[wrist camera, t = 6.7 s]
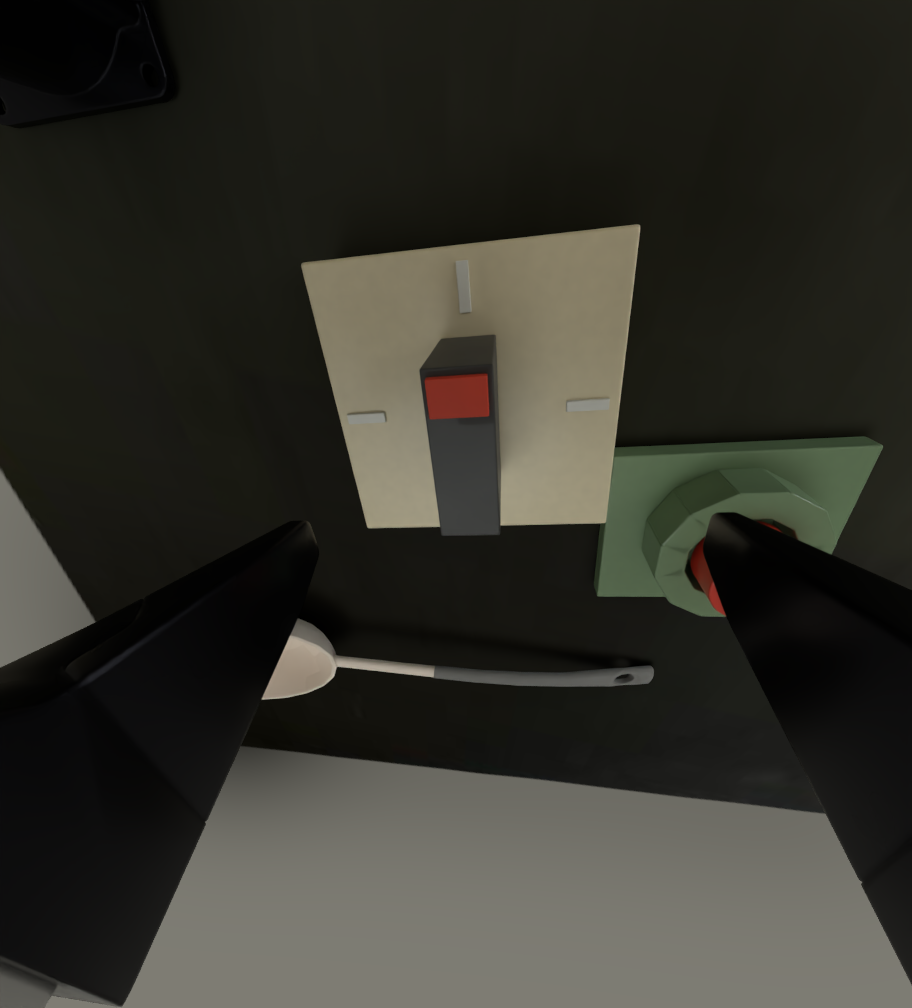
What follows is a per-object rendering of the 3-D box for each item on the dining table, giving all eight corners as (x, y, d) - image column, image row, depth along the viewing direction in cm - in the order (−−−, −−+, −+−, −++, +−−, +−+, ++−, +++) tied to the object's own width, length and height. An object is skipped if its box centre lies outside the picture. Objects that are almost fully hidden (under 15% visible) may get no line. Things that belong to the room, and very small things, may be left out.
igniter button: (682, 587, 18) (700, 620, 17) (699, 520, 16) (721, 550, 15) (770, 587, 18) (797, 621, 16) (799, 518, 16) (833, 549, 14)
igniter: (593, 583, 22) (605, 627, 19) (608, 446, 18) (625, 479, 15) (798, 583, 21) (839, 630, 18) (865, 435, 16) (931, 469, 14)
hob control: (384, 494, 20) (365, 531, 18) (333, 260, 15) (296, 262, 12) (592, 487, 19) (607, 526, 16) (616, 228, 14) (643, 223, 11)
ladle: (180, 588, 24) (131, 655, 20) (633, 589, 27) (671, 648, 23) (205, 657, 27) (167, 727, 23) (609, 652, 30) (638, 713, 26)
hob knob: (501, 473, 16) (500, 540, 12) (454, 475, 16) (440, 541, 12) (496, 333, 13) (493, 366, 9) (440, 338, 13) (416, 371, 10)
